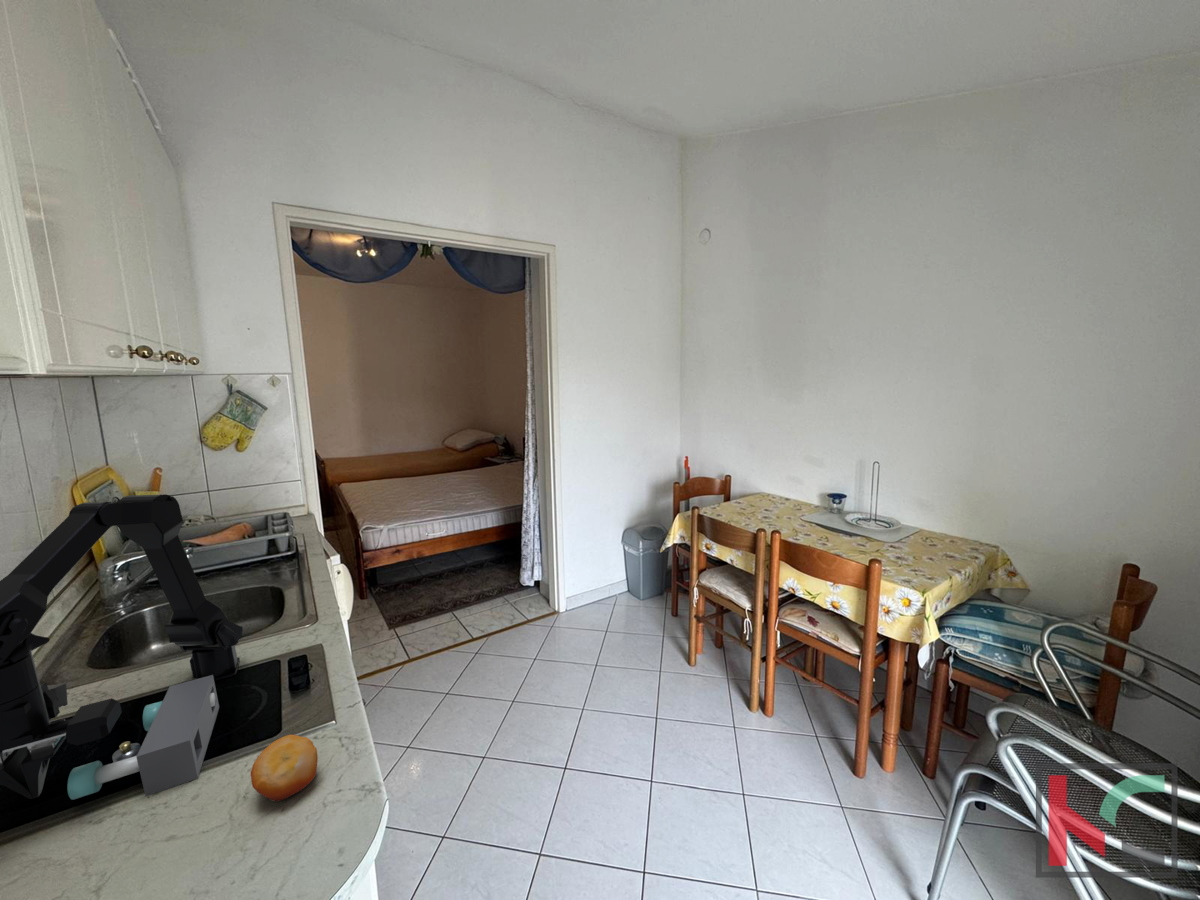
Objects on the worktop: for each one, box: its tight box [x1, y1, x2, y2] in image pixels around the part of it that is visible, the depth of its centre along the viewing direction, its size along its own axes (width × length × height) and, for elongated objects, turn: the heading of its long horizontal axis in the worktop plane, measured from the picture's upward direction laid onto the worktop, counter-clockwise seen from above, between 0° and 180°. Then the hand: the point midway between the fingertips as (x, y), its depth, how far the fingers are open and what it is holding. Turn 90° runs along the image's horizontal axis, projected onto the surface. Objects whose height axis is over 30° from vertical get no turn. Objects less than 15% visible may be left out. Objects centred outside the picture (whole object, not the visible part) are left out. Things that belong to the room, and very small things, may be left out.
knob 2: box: [142, 693, 215, 732], centre depth 85 cm, size 9×4×4 cm, turn 119°
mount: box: [136, 675, 220, 797], centre depth 80 cm, size 6×18×6 cm, turn 29°
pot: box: [111, 740, 142, 763], centre depth 77 cm, size 3×3×4 cm
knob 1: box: [66, 756, 140, 801], centre depth 72 cm, size 9×4×4 cm, turn 119°
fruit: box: [250, 734, 319, 802], centre depth 72 cm, size 8×8×8 cm
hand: (36, 795), depth 68 cm, fingers closed
